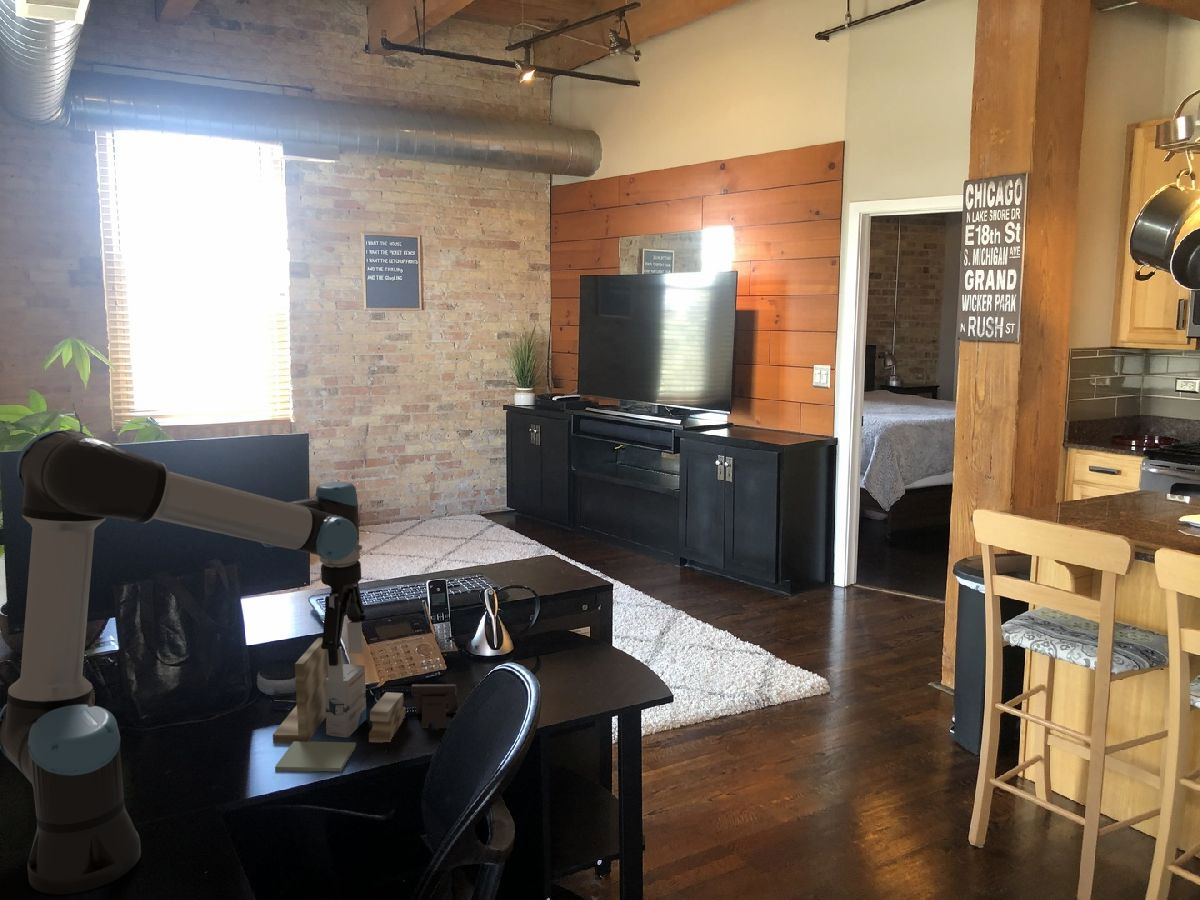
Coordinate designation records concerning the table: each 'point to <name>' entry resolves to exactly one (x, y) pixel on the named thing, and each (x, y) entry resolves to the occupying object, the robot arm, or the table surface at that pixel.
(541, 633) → the table surface
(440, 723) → the portable electronic device stand
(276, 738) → the wooden bookend
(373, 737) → the offcut stack
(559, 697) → the table surface
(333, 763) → the sage mat
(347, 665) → the ink box
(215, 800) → the table surface
